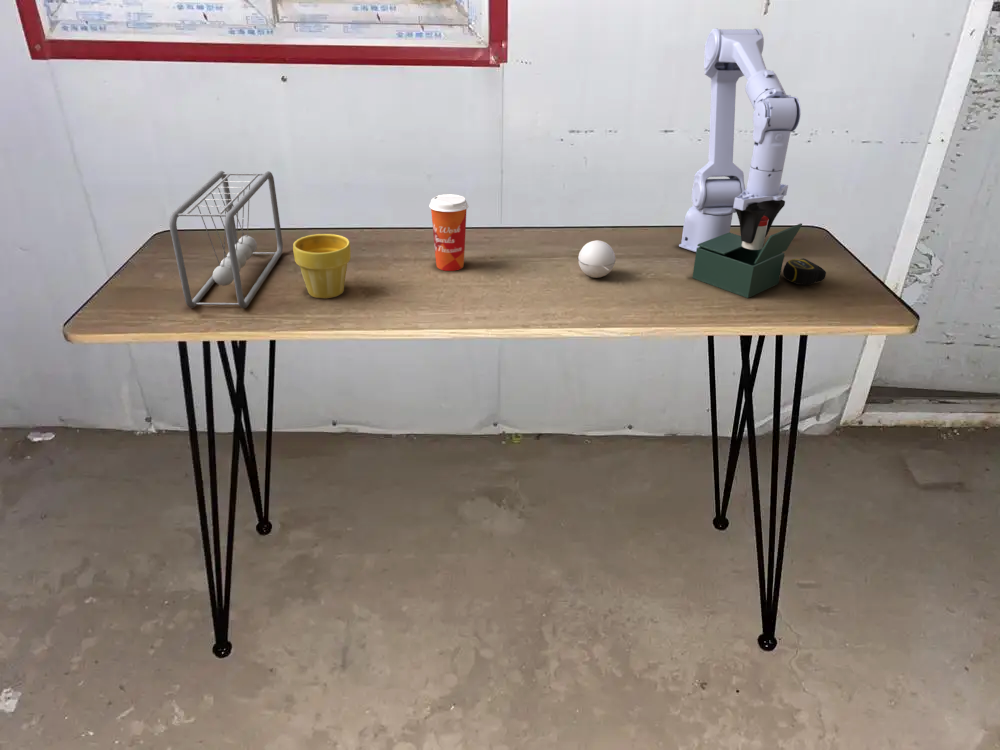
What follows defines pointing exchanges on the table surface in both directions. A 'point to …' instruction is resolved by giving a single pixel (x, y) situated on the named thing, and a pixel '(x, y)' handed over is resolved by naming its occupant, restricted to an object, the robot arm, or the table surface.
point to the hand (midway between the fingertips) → (753, 239)
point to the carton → (735, 266)
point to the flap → (778, 243)
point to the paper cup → (449, 230)
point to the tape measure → (803, 272)
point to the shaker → (758, 236)
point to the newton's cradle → (228, 238)
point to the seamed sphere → (596, 259)
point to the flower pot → (323, 263)
